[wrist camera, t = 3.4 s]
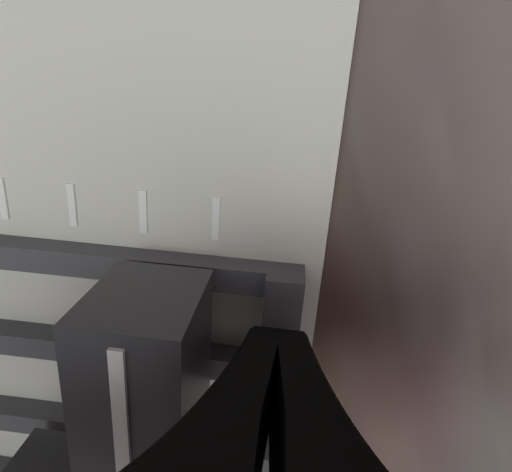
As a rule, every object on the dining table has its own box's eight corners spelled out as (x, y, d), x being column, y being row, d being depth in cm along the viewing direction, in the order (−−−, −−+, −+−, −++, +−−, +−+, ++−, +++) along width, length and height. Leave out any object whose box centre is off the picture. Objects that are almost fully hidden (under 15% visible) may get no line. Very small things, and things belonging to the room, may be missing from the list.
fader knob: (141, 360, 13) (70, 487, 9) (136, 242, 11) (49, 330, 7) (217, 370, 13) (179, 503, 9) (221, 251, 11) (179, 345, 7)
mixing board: (-95, 439, 17) (-154, 493, 15) (-248, -39, 11) (-387, -69, 9) (288, 491, 16) (287, 558, 14) (354, -5, 10) (371, -29, 8)
